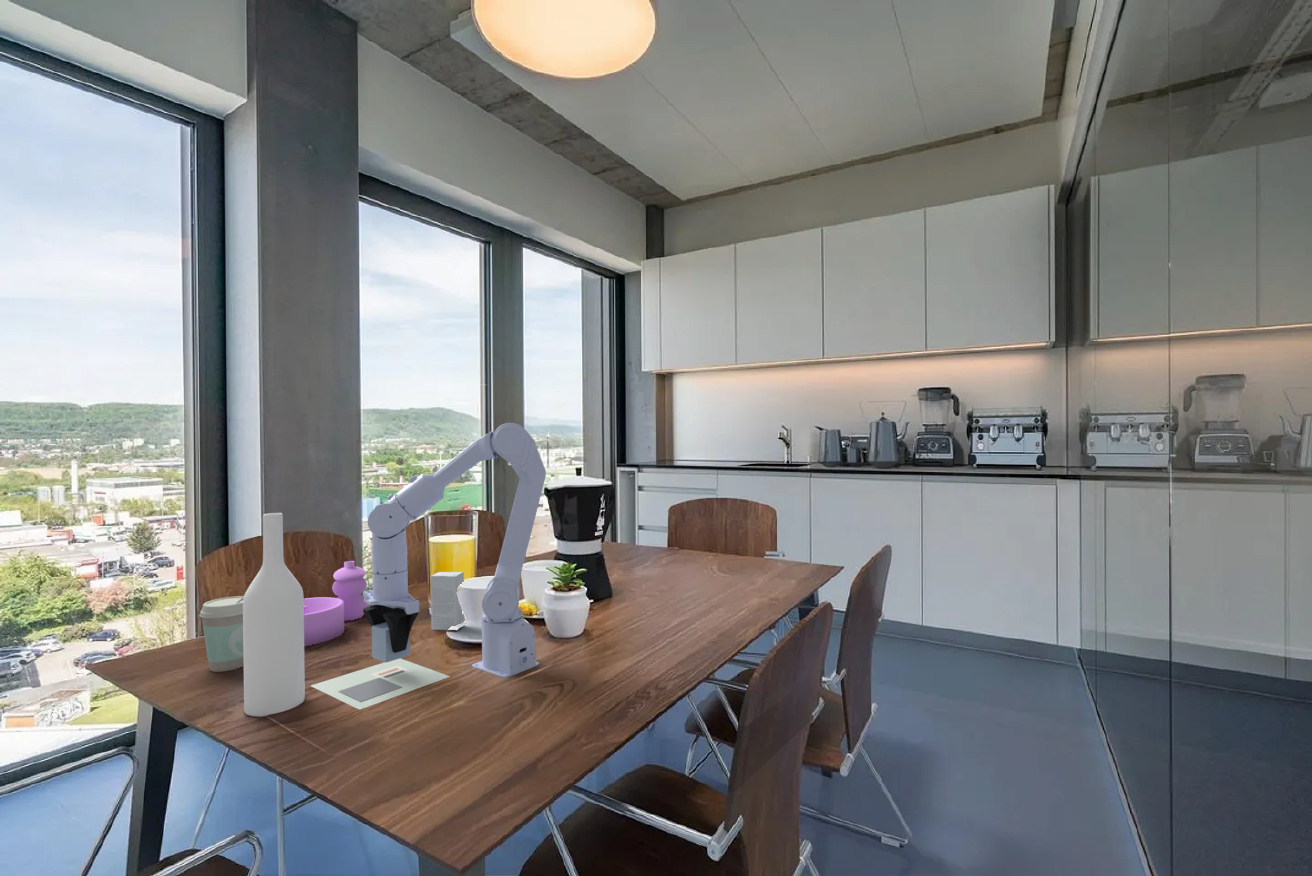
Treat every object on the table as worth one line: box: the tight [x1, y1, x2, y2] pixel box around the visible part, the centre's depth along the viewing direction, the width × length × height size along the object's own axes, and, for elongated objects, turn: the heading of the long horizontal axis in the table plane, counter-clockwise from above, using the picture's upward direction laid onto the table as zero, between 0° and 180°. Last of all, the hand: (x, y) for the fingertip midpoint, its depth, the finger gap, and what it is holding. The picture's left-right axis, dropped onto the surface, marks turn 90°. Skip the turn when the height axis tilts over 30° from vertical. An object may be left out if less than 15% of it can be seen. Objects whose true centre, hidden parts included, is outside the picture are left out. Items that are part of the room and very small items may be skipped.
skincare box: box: [429, 571, 466, 632], centre depth 136 cm, size 6×4×12 cm
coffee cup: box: [199, 595, 244, 673], centre depth 115 cm, size 8×9×12 cm
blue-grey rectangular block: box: [371, 622, 411, 663], centre depth 109 cm, size 4×4×6 cm
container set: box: [304, 560, 369, 647], centre depth 137 cm, size 25×15×13 cm, turn 166°
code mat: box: [310, 658, 451, 710], centre depth 106 cm, size 16×16×1 cm
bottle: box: [243, 512, 306, 718], centre depth 97 cm, size 8×8×30 cm
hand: (391, 648), depth 109 cm, fingers closed on blue-grey rectangular block, 4 cm apart
